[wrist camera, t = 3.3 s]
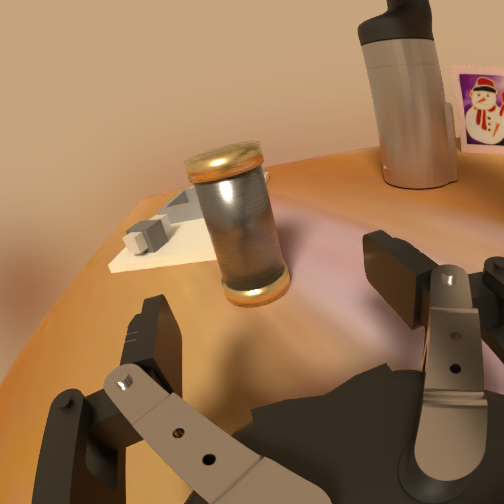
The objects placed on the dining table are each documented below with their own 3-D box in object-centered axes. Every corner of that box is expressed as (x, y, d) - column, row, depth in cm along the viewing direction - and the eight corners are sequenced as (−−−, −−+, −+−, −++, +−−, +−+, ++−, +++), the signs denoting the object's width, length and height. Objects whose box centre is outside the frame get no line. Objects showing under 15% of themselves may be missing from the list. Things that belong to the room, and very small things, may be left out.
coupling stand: (269, 177, 51) (264, 156, 49) (233, 257, 28) (222, 220, 27) (190, 193, 54) (184, 173, 53) (111, 273, 32) (98, 243, 31)
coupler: (292, 265, 25) (264, 137, 20) (287, 304, 21) (252, 150, 16) (234, 272, 26) (198, 152, 22) (219, 309, 22) (171, 169, 18)
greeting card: (461, 153, 43) (451, 65, 36) (458, 144, 48) (448, 66, 42) (520, 156, 36) (513, 68, 30) (511, 147, 42) (503, 68, 35)
